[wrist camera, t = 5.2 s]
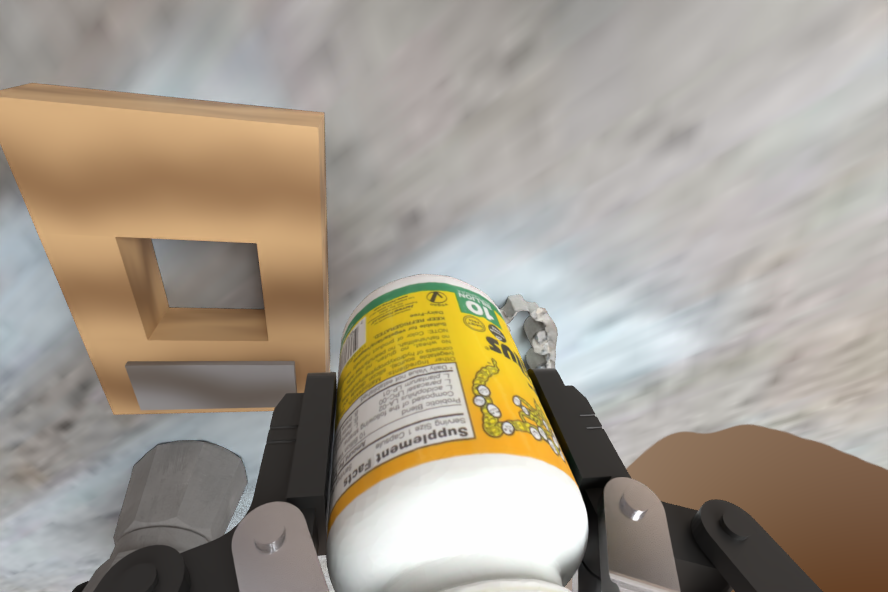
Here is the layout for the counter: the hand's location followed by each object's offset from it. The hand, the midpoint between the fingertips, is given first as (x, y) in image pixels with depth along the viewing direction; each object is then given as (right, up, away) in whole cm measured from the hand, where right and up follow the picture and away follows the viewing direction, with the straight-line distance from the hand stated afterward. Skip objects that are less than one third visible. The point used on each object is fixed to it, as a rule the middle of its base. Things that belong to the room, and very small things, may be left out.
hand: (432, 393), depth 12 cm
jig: (-14, +5, +16) cm, 22 cm away
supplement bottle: (0, +2, +2) cm, 3 cm away
